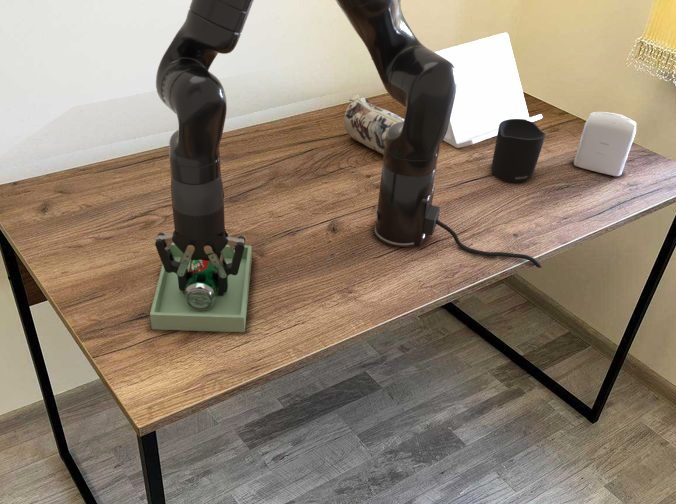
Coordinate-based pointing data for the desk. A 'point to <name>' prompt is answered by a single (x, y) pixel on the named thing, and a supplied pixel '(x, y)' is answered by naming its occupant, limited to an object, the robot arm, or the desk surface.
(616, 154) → the photo printer
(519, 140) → the pen holder
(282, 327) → the desk surface
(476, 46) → the tablet stand
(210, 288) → the soda can
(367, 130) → the pencil case
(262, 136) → the desk surface
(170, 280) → the tray
